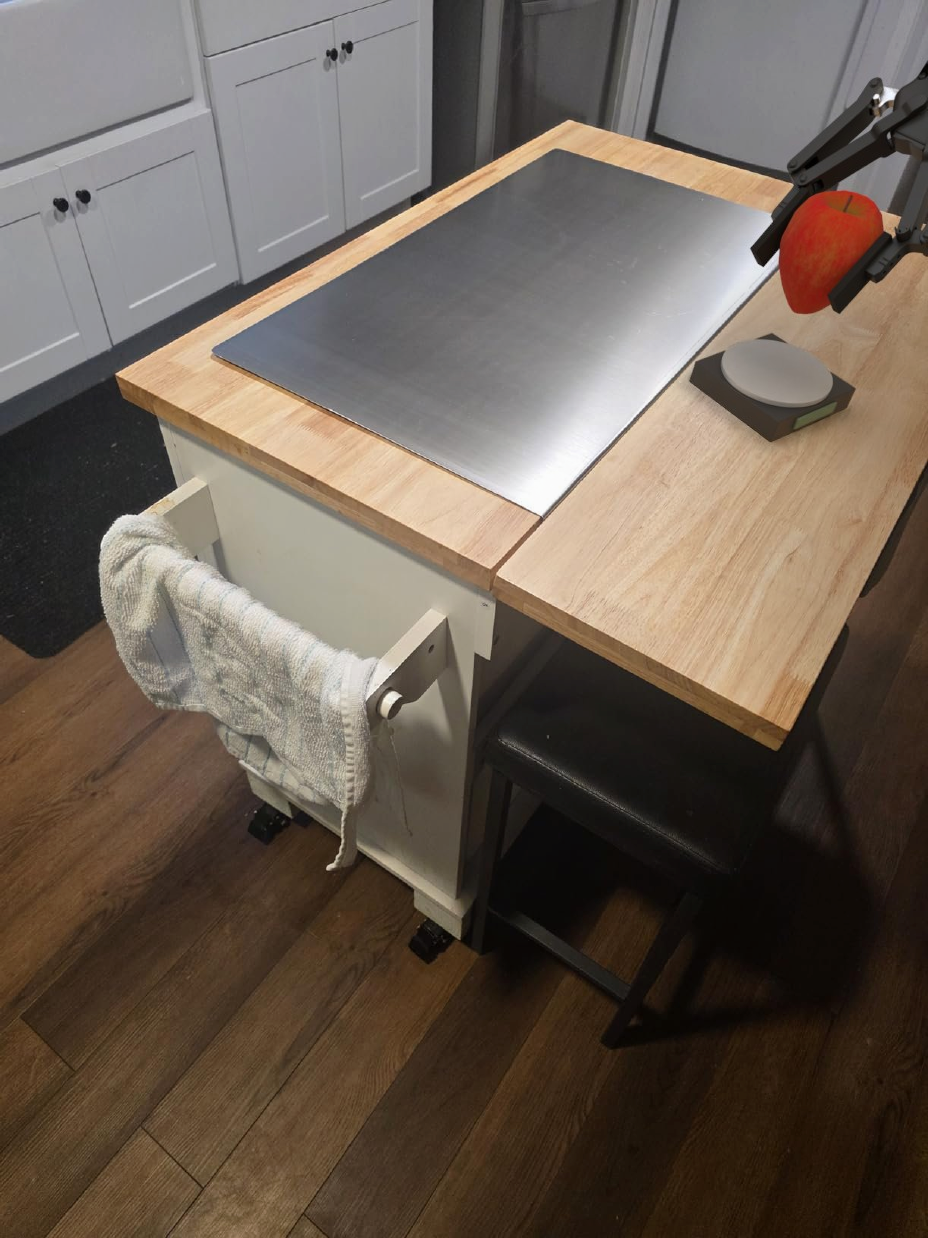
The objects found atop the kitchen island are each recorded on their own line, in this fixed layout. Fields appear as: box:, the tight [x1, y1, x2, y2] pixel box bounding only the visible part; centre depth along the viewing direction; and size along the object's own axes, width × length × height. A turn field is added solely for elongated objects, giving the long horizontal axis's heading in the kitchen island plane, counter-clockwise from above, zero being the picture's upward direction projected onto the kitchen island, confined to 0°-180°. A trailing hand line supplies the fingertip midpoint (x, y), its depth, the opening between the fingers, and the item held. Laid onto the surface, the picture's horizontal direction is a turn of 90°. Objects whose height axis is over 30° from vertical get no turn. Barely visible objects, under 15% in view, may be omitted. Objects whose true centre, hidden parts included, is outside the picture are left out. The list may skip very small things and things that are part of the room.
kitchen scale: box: [689, 332, 857, 443], centre depth 93 cm, size 12×12×3 cm
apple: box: [777, 189, 885, 315], centre depth 78 cm, size 9×8×11 cm
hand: (794, 280), depth 78 cm, fingers closed on apple, 8 cm apart
